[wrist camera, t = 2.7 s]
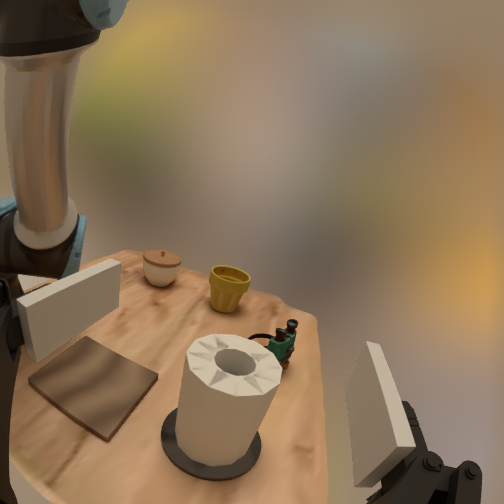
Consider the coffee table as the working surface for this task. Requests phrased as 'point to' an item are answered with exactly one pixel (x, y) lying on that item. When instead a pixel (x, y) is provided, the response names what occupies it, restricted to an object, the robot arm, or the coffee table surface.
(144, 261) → the lidded jar
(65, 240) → the robot arm
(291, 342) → the binoculars
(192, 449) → the towel roll
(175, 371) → the coffee table surface
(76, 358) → the cutting board
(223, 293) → the plant pot
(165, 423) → the disc
